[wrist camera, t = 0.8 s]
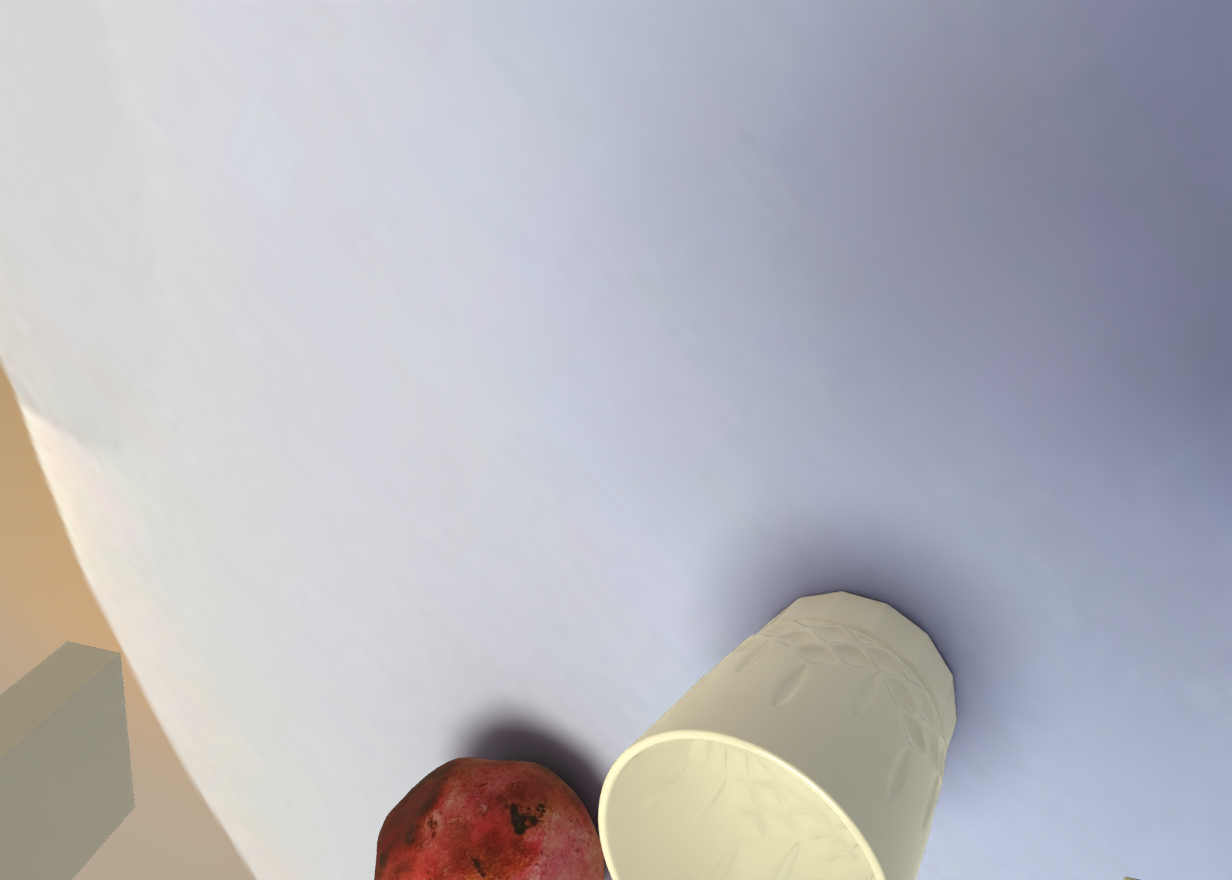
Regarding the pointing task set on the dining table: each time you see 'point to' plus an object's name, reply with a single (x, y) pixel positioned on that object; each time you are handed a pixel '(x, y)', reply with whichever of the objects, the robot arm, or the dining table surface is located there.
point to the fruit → (489, 827)
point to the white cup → (791, 756)
